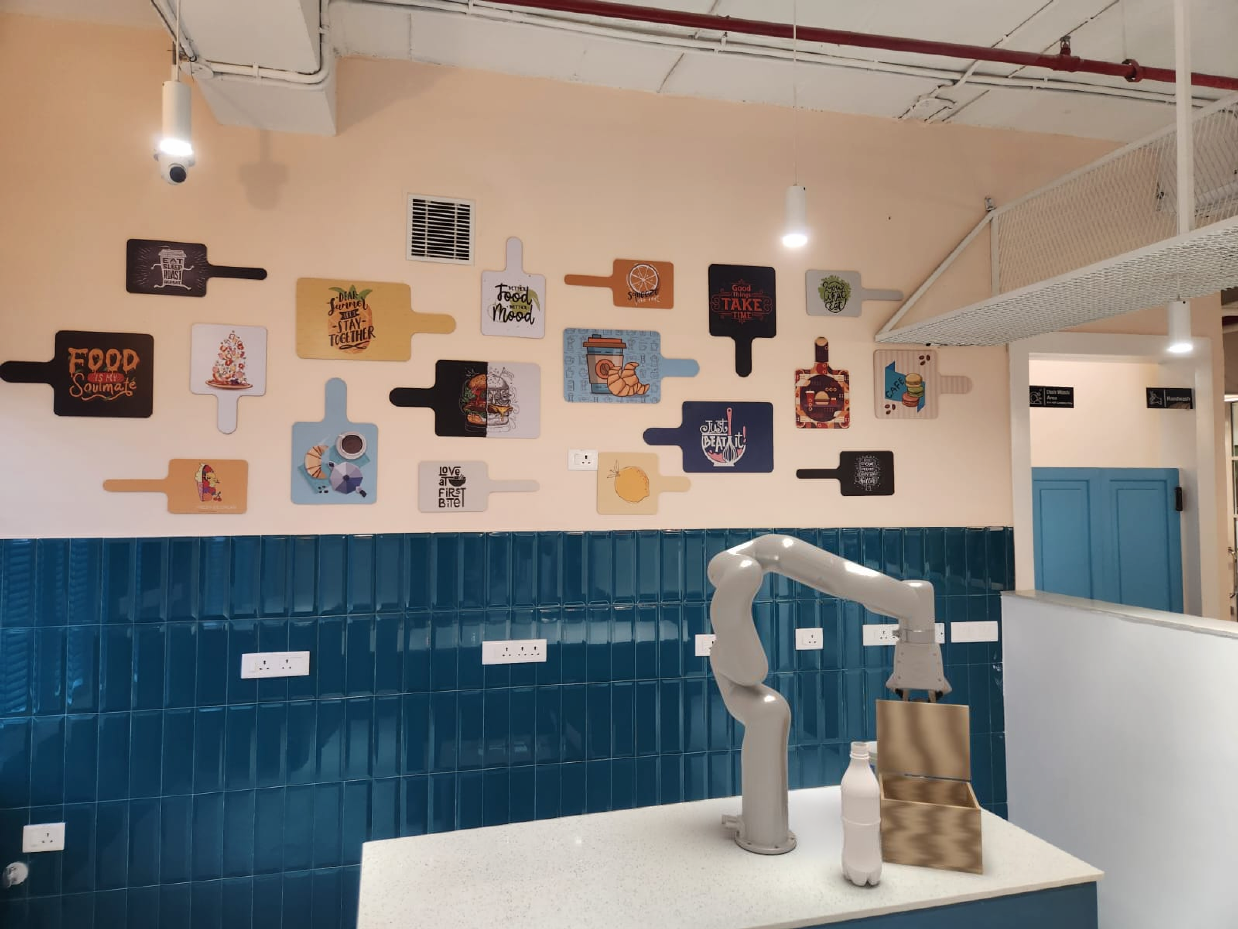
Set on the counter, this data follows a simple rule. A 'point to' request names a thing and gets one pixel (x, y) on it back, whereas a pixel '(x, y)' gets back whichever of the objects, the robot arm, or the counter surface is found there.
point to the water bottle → (860, 819)
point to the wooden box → (930, 823)
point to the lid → (923, 738)
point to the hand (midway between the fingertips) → (919, 718)
